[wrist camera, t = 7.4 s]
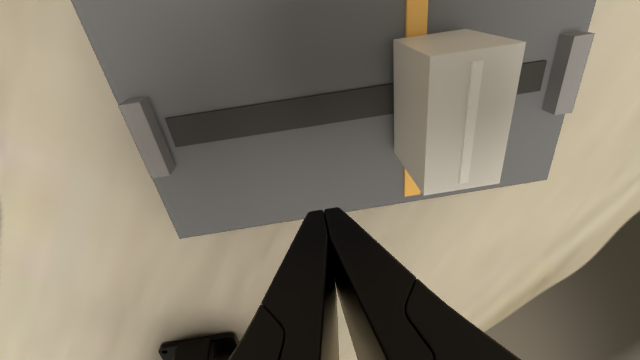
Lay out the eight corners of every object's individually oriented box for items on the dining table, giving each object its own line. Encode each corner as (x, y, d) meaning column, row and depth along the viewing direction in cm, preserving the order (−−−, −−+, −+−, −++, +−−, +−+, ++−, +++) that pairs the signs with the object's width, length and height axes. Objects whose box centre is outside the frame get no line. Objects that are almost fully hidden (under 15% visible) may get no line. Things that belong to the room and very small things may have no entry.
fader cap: (454, 142, 19) (500, 184, 15) (394, 152, 19) (424, 196, 15) (465, 28, 16) (528, 42, 12) (393, 39, 15) (431, 57, 12)
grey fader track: (531, 168, 23) (557, 187, 20) (185, 224, 22) (175, 249, 20) (594, -90, 15) (644, -103, 13) (82, -16, 15) (48, -17, 13)
